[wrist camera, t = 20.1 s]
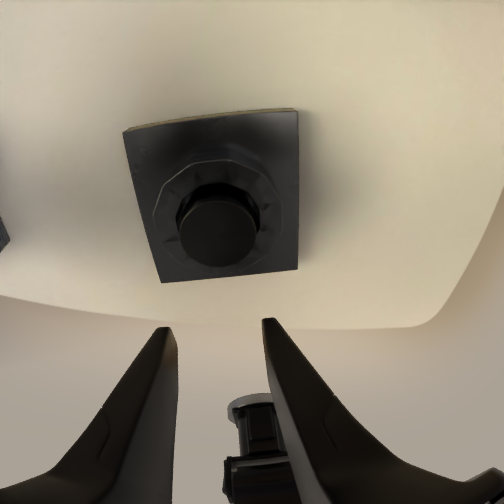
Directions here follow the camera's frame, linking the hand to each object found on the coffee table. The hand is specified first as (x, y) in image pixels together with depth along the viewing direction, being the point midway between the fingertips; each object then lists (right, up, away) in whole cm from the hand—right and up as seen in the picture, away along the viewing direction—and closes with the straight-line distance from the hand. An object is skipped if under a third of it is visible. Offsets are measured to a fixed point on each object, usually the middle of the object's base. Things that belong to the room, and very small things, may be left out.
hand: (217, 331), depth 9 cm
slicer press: (-1, +6, +8) cm, 10 cm away
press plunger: (-1, +4, +6) cm, 7 cm away
